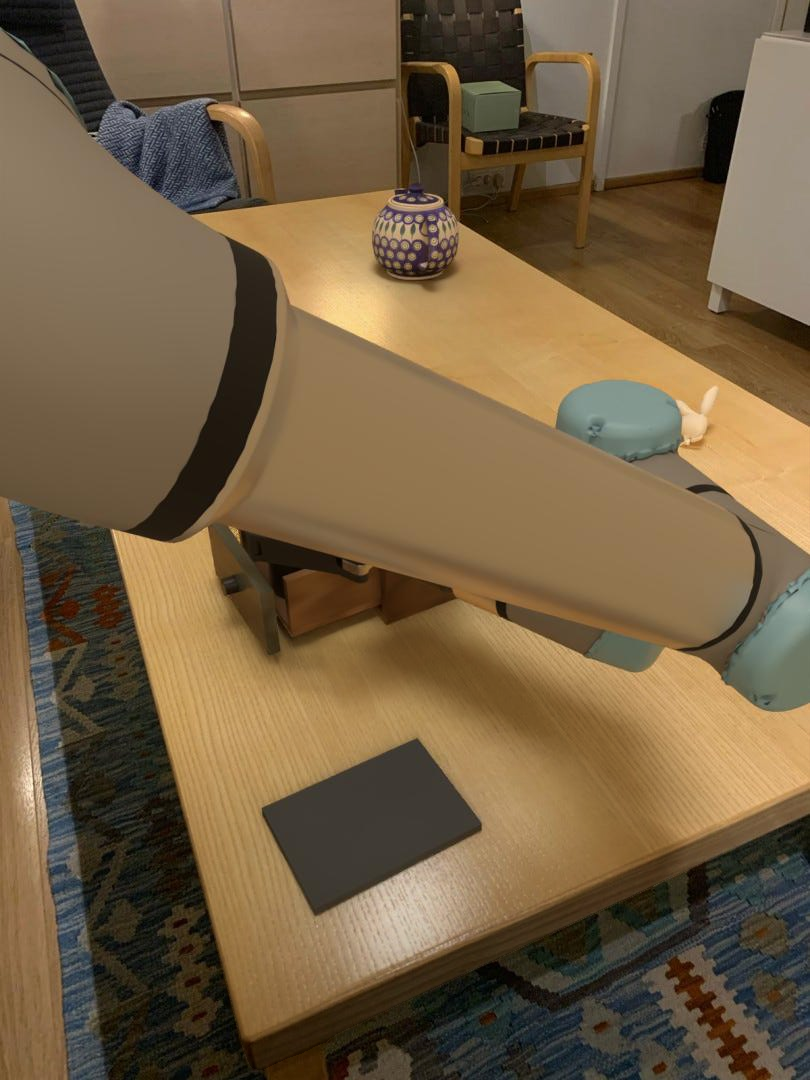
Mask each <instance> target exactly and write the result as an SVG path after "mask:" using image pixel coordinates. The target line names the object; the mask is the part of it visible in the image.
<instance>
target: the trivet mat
mask: <svg viewBox="0 0 810 1080" xmlns="http://www.w3.org/2000/svg"><path fill="white" fill-rule="evenodd" d="M260 809H261V815H262V817H263V819H264V821H265V823H266V824H267V827H268V828H269V831H270V832H271V834H272V836H273V838H274V840H275V842H276V844H277V846H278V848H279V850H280V852H282V856H283V858H284V859H285V861H286V862H287V865H288V867H289V869H290V871H291V873H292V874H293V877H294V878H295V880H296V882H297V883H298V886H299V888H300V890H301V891H302V893H303V896H304V898H305V899H306V901H307V903H308V905H309V907H310V909H311V910H312V912H313V915H314V916H318V915H320V914H322V913H324V912H326V911H327V910H330V909H331V908H333V907H335V906H337V905H339V904H341V903H343V902H345V901H347V900H348V899H351V898H353V897H354V896H357V895H358V894H360V893H362V892H364V891H366V890H368V889H371V888H372V887H374V886H376V885H378V884H379V883H382V882H384V881H386V880H387V879H389V878H391V877H393V876H395V875H397V874H399V873H401V872H403V871H405V870H407V869H409V868H411V867H413V866H414V865H416V864H418V863H420V862H423V861H424V860H426V859H429V858H431V857H432V856H434V855H436V854H438V853H440V852H442V851H444V850H446V849H448V848H449V847H452V846H453V845H455V844H457V843H459V842H461V841H463V840H465V839H467V838H469V837H471V836H473V835H475V834H477V833H478V832H480V831H482V828H483V823H482V821H481V820H480V818H479V817H478V815H477V814H476V813H475V812H474V811H473V809H472V808H471V807H470V806H469V804H468V802H467V801H466V800H465V798H464V797H463V796H462V795H461V793H460V792H459V791H458V789H457V788H456V786H455V785H454V784H453V783H452V781H451V780H450V779H449V777H448V776H447V775H446V774H445V772H444V771H443V769H442V768H441V767H440V766H439V764H438V763H437V762H436V760H435V759H434V758H433V756H432V755H431V753H429V751H428V750H427V749H426V747H425V745H423V743H422V742H421V740H420V739H419V737H416V738H413V739H411V740H409V741H407V742H405V743H403V744H400V745H398V746H396V747H394V748H391V749H389V750H386V751H385V752H383V753H381V754H378V755H376V756H374V757H372V758H368V759H367V760H365V761H363V762H360V763H358V764H356V765H354V766H351V767H349V768H347V769H345V770H343V771H341V772H339V773H336V774H334V775H331V776H329V777H327V778H324V779H323V780H320V781H318V782H316V783H314V784H311V785H309V786H307V787H305V788H302V789H300V790H298V791H295V792H294V793H292V794H289V795H287V796H285V797H283V798H280V799H279V800H276V801H274V802H271V803H269V804H267V805H264V806H263V807H261V808H260Z"/></svg>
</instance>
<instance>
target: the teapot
mask: <svg viewBox="0 0 810 1080" xmlns="http://www.w3.org/2000/svg"><path fill="white" fill-rule="evenodd" d="M424 190H425V186H424V184H423V183H420V182H413V183H411V184H409V185H408V189H407V188H395V189H394V190H393V191H394V195H393V196H391V197H389V198H388V200H387V203H386V205H384V206H383V208H382V209H380V210H379V211H378V213H377V214H376V216H375V218H374V221H373V225H372V231H371V243H372V244H371V245H372V250H373V255H374V258H375V260H376V262H377V263H378V264H379V265H380V266H381V267H382V268H383V269H385V270H386V273H387V274H388V276H390V277H392V278H394V279H397V280H402V281H403V280H404V281H425V280H431V279H434V278H438V277H439V276H441V275H442V274H443V273H444V270H445V269H446V268H448V267H449V266H450V265H451V264H452V263H453V261H454V260H455V258H456V255H457V252H458V249H459V239H460V234H459V224H458V220H457V218H456V216H455V214H454V213H453V211H452V210H451V209H449V207H447V206H446V204H445V201H444V199H443V197H441V196H438V195H437V194H432V193H424Z"/></svg>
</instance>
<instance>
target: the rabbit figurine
mask: <svg viewBox="0 0 810 1080" xmlns="http://www.w3.org/2000/svg"><path fill="white" fill-rule="evenodd" d="M718 396H719V387H718V385H713V386H711V387H710V388H709V389H708V390H706V391H705V393H704V395H703V397H702V398H701V401H700V405H699V413H697V412H696V411H694V410H692V409H691V408H690V407H689V406H688V405H687V404H686V403H685V402H684V401H683V400H680V399H674V400H675V401H676V402H677V406H678V408H679V411H680V413H681V415H682V432H681V435H682V436H681V437H682V438H683V439H682V443H681V444H680V445H679V447H681V446H683V445H685V446H689V445H691V443H696V442H699V441H701V440H703V438H704V434H705V433H706V431H707V429H708V424H709V422H708V417H706V415H709V414H710V413H711V412H712V411H713V408H714V407H715V404H716V402H717V399H718Z"/></svg>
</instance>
